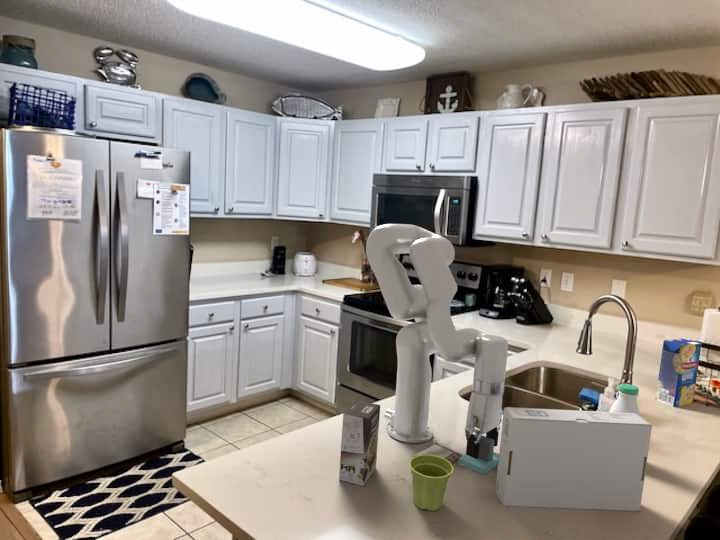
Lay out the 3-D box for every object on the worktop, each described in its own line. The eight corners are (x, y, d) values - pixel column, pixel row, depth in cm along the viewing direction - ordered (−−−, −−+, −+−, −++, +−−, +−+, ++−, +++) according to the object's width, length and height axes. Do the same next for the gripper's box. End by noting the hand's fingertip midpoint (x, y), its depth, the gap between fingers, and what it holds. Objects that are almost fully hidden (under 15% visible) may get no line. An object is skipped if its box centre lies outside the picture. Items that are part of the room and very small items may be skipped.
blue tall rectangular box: (692, 403, 180) (701, 343, 178) (674, 407, 175) (683, 345, 173) (673, 396, 186) (682, 338, 184) (655, 399, 181) (663, 340, 179)
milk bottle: (599, 457, 135) (608, 385, 132) (608, 448, 140) (617, 378, 138) (630, 468, 130) (641, 393, 127) (639, 458, 135) (649, 387, 133)
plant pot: (459, 508, 107) (462, 470, 106) (425, 521, 102) (428, 481, 101) (430, 486, 115) (433, 451, 114) (397, 497, 110) (400, 460, 109)
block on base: (458, 463, 126) (460, 438, 125) (478, 450, 134) (480, 427, 133) (483, 474, 122) (486, 449, 121) (502, 461, 129) (505, 436, 128)
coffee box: (364, 487, 113) (368, 418, 111) (337, 480, 115) (341, 412, 113) (377, 468, 122) (381, 404, 120) (352, 462, 124) (356, 399, 122)
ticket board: (413, 460, 126) (413, 454, 126) (435, 448, 134) (436, 442, 134) (440, 473, 121) (440, 467, 121) (461, 459, 128) (462, 453, 128)
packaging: (624, 495, 117) (636, 413, 114) (640, 511, 110) (652, 424, 108) (495, 490, 115) (503, 406, 113) (503, 506, 109) (512, 418, 107)
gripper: (491, 374, 134) (485, 435, 136) (456, 388, 121) (450, 455, 123) (517, 381, 129) (511, 445, 131) (484, 398, 116) (478, 467, 118)
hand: (481, 450), depth 127 cm, fingers open, 9 cm apart
